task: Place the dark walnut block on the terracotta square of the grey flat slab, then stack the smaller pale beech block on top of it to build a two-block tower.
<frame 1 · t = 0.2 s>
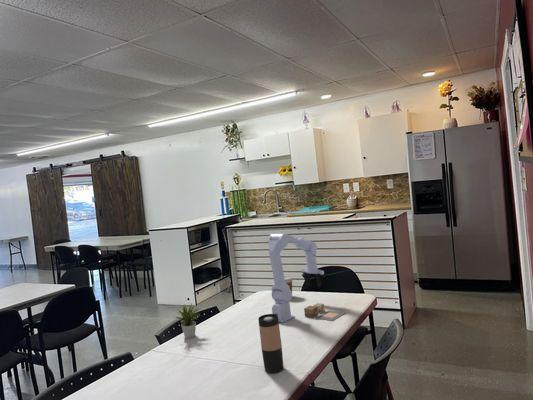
hand: (314, 286, 223), 10 cm above the table, fingers open, 7 cm apart
walnut block: (311, 316, 204), on the table
disposable coffee cup: (287, 297, 243), on the table
travel mug: (274, 369, 149), on the table
house plant: (190, 337, 193), on the table
grey flat slab: (330, 315, 200), on the table
beech block: (319, 311, 209), on the table
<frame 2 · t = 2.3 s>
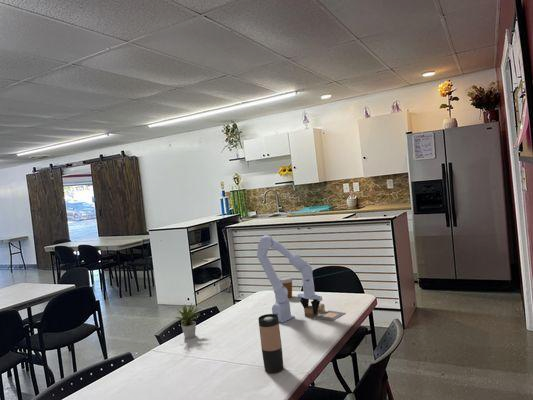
hand: (311, 313, 204), 1 cm above the table, fingers closed on walnut block, 5 cm apart
walnut block: (311, 315, 204), on the table, touching gripper
everything else where it was.
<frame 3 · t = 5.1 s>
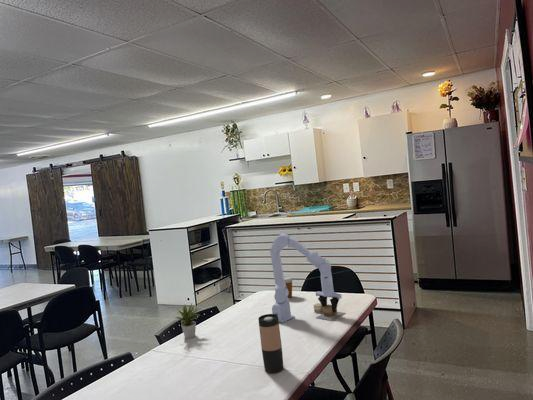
hand: (330, 311, 200), 2 cm above the table, fingers closed on walnut block, 5 cm apart
walnut block: (330, 315, 200), resting on grey flat slab, touching gripper
everything else where it was.
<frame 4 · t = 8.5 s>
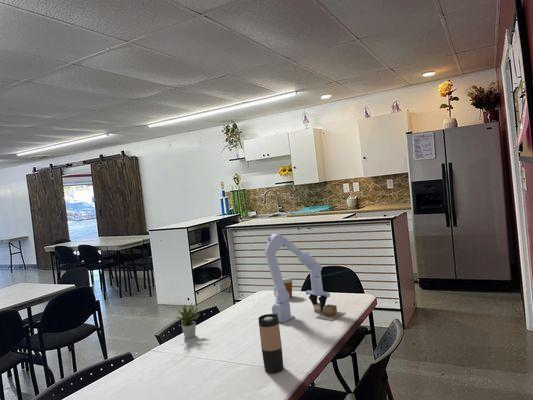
hand: (319, 309, 209), 1 cm above the table, fingers closed on beech block, 4 cm apart
walnut block: (330, 315, 200), resting on grey flat slab
beech block: (319, 311, 209), on the table, touching gripper
everything else where it was.
when the fingers open (7 cm above the table, at t = 11.1 s): beech block stays where it is, resting on walnut block.
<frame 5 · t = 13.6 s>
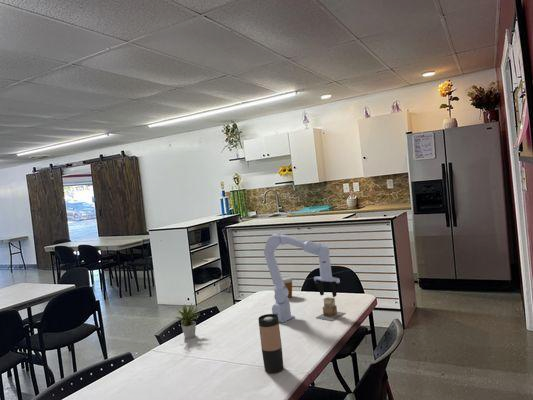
hand: (328, 295, 200), 10 cm above the table, fingers open, 7 cm apart
walnut block: (330, 315, 200), resting on grey flat slab, touching beech block
beech block: (329, 306, 200), point 5 cm above the table, touching walnut block
everything else where it was.
at the end: walnut block 0.0 cm off-centre on the grey flat slab, point 0.4 cm above the grey flat slab's base; beech block 0.2 cm off-centre on the walnut block, point 4.5 cm above the walnut block's base; beech block tilted 0° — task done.
